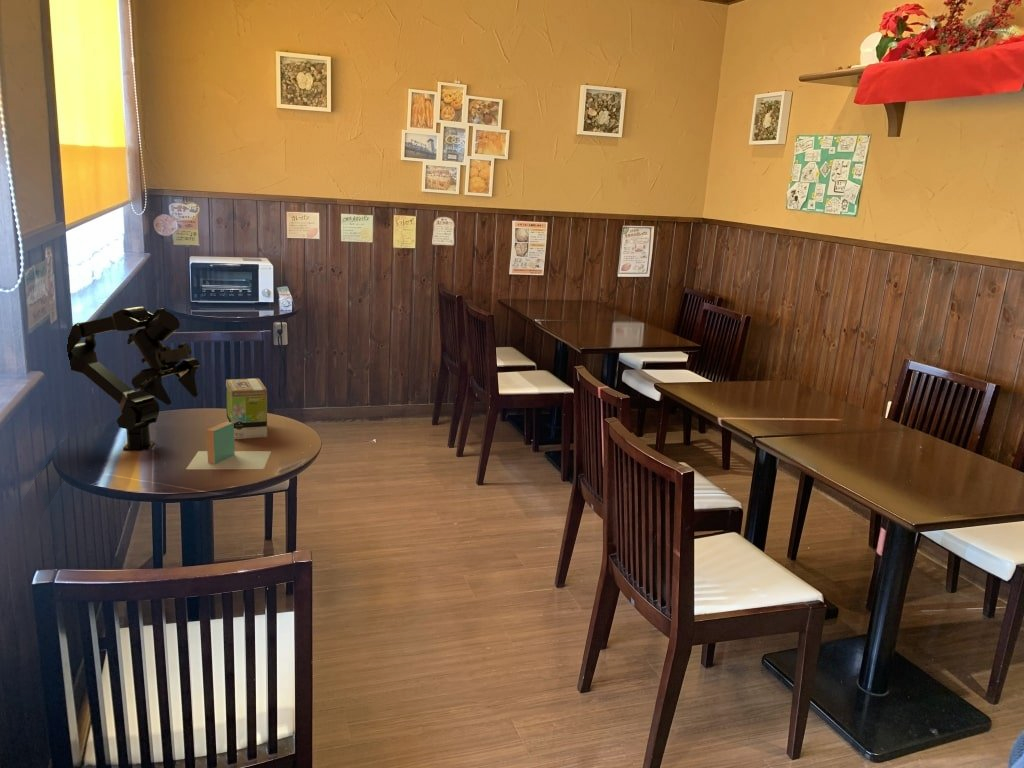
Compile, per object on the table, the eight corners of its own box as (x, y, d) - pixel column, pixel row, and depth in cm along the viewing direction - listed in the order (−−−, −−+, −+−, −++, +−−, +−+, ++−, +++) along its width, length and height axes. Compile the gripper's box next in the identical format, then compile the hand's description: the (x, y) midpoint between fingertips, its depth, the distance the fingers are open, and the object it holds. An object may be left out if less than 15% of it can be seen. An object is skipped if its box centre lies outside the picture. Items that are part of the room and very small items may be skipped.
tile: (207, 462, 201) (206, 429, 199) (226, 453, 209) (225, 421, 207) (215, 464, 201) (214, 430, 199) (234, 454, 208) (233, 422, 206)
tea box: (268, 437, 225) (267, 388, 221) (232, 441, 220) (230, 390, 217) (260, 423, 238) (259, 376, 234) (226, 426, 233) (224, 378, 230)
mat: (198, 452, 209) (198, 451, 209) (271, 452, 213) (271, 451, 212) (185, 470, 196) (185, 469, 196) (263, 470, 199) (263, 469, 199)
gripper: (142, 339, 191) (175, 393, 190) (197, 329, 208) (227, 378, 208) (116, 362, 195) (148, 414, 195) (172, 349, 212) (202, 398, 212)
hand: (183, 400), depth 202 cm, fingers open, 9 cm apart
